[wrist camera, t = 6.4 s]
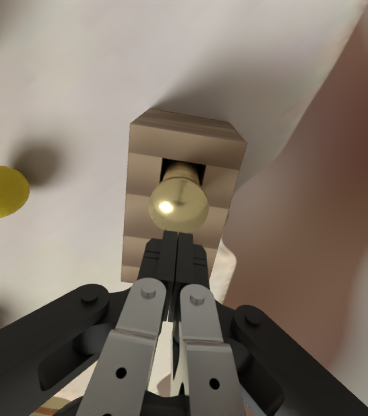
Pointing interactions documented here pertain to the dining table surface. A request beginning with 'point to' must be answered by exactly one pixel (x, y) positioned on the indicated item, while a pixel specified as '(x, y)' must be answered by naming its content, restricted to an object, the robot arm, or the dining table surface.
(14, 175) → the lemon
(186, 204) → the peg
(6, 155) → the dining table surface
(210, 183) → the brown wooden block
